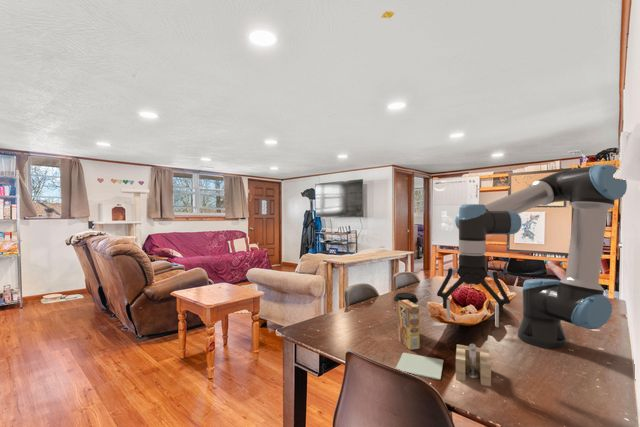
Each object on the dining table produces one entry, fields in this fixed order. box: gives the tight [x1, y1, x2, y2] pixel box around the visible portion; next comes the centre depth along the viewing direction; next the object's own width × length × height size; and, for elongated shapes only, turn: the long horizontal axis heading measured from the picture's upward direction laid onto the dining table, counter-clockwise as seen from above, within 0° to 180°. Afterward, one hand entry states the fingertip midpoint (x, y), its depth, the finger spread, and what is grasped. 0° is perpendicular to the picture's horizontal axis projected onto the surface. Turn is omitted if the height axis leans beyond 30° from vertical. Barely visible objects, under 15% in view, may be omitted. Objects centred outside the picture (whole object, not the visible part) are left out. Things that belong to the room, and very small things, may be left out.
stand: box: [466, 343, 479, 380], centre depth 93 cm, size 3×3×10 cm
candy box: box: [397, 300, 421, 350], centre depth 115 cm, size 9×4×15 cm, turn 13°
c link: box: [455, 344, 492, 387], centre depth 94 cm, size 11×9×6 cm
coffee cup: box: [393, 292, 419, 330], centre depth 128 cm, size 9×9×15 cm
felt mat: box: [395, 352, 444, 381], centre depth 99 cm, size 13×13×1 cm
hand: (471, 322), depth 98 cm, fingers open, 13 cm apart
